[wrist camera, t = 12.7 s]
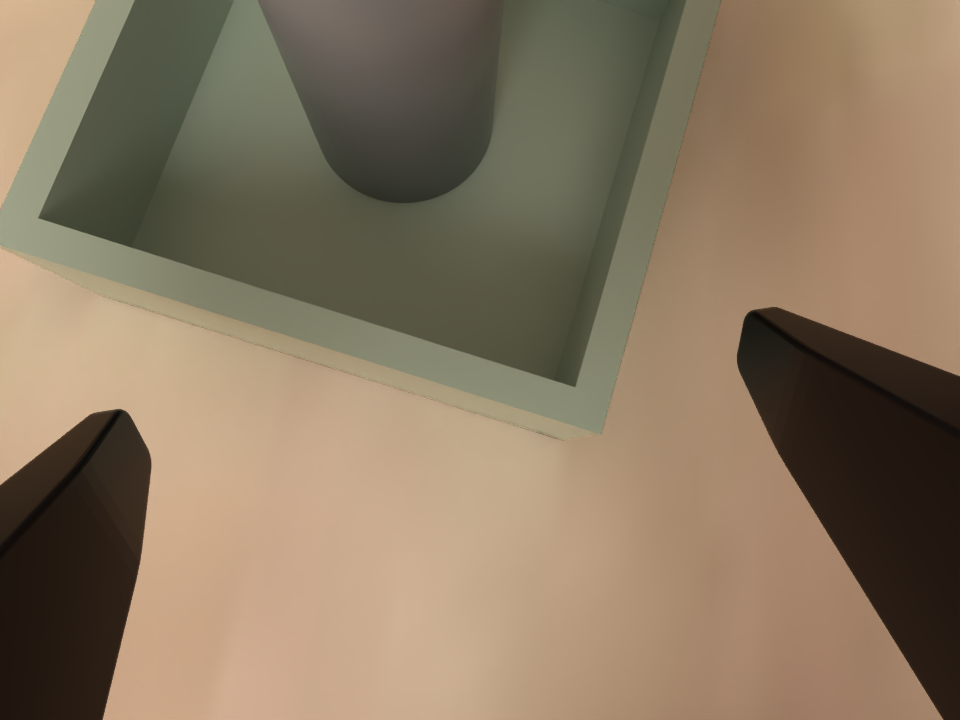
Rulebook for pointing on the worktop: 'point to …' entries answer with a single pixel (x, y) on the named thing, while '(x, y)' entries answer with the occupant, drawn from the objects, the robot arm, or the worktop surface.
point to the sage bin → (372, 201)
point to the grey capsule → (394, 87)
